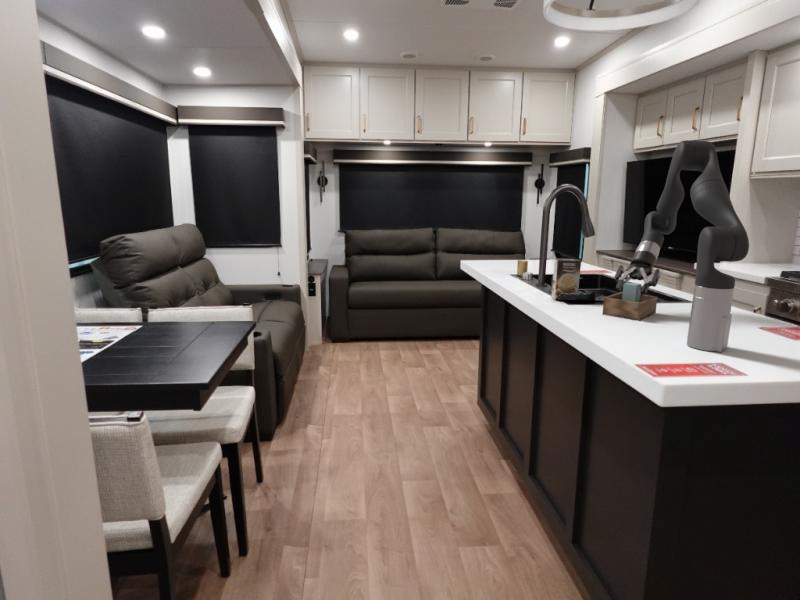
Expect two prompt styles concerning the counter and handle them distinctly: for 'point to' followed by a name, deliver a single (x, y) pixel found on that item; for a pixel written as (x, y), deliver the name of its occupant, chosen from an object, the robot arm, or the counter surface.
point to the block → (631, 292)
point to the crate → (629, 307)
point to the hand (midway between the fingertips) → (630, 292)
